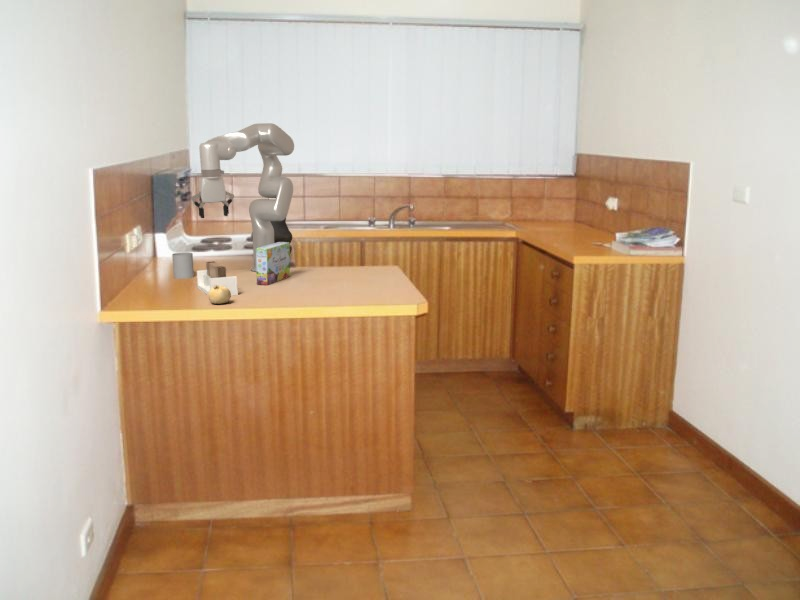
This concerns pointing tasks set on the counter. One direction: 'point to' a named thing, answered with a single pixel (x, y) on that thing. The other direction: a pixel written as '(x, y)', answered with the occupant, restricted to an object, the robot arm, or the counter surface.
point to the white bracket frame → (215, 282)
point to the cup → (183, 265)
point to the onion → (219, 294)
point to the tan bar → (215, 270)
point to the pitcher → (280, 231)
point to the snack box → (273, 262)
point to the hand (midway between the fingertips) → (214, 216)
